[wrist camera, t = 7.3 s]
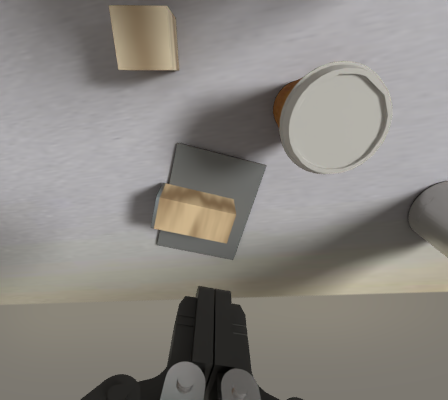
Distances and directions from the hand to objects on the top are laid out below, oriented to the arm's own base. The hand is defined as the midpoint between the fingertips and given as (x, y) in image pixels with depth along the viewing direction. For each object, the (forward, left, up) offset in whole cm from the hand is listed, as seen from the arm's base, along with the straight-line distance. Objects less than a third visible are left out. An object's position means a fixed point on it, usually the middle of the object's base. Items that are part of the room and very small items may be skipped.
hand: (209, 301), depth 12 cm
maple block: (+9, -10, -25) cm, 29 cm away
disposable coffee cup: (-9, -8, -25) cm, 28 cm away
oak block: (+5, +8, -22) cm, 24 cm away
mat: (-1, +8, -25) cm, 26 cm away
